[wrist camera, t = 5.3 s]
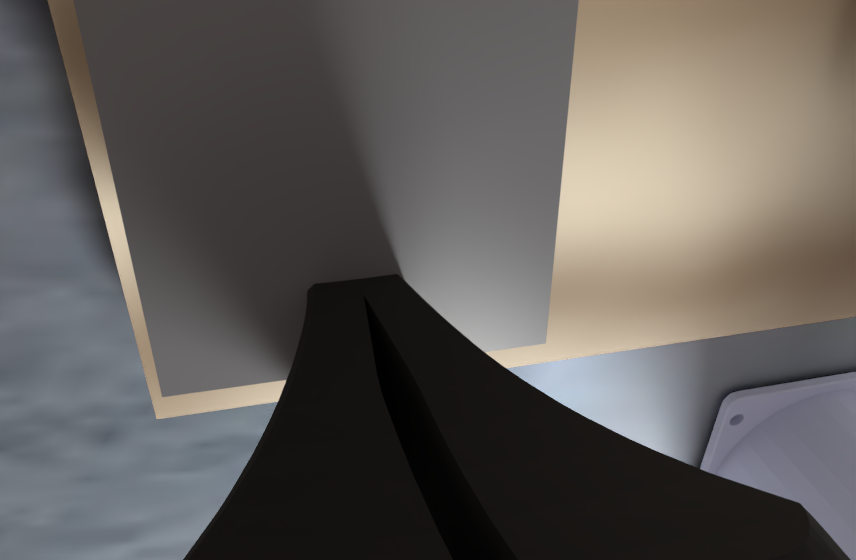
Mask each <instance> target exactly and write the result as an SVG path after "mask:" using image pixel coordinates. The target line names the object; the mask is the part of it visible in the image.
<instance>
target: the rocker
mask: <svg viewBox="0 0 856 560" xmlns="http://www.w3.org/2000/svg"><path fill="white" fill-rule="evenodd" d="M73 2H74V6H75V11H76V15H77V20H78V24H79V28H80V33H81V37H82V42H83V46H84V51H85V55H86V60H87V64H88V69H89V73H90V78H91V82H92V87H93V91H94V95H95V100H96V104H97V109H98V113H99V118H100V122H101V127H102V131H103V136H104V140H105V145H106V149H107V153H108V158H109V162H110V167H111V171H112V176H113V180H114V185H115V189H116V194H117V198H118V203H119V207H120V212H121V216H122V220H123V225H124V229H125V234H126V238H127V243H128V247H129V252H130V256H131V261H132V265H133V270H134V274H135V278H136V283H137V287H138V292H139V296H140V301H141V305H142V310H143V314H144V319H145V323H146V328H147V332H148V336H149V341H150V345H151V350H152V354H153V359H154V363H155V368H156V372H157V377H158V381H159V386H160V390H161V395H162V397H168V396H175V395H182V394H189V393H197V392H204V391H211V390H218V389H225V388H232V387H239V386H247V385H254V384H261V383H268V382H275V381H282V380H287V377H288V375H289V372H290V370H291V367H292V364H293V361H294V358H295V354H296V351H297V347H298V344H299V340H300V336H301V333H302V329H303V324H304V319H305V314H306V307H307V291H308V290H309V289H310V288H311V287H312V286H313V285H314V284H316V283H327V282H336V281H345V280H353V279H362V278H370V277H378V276H386V275H393V274H398V275H399V276H400V277H401V278H403V279H404V280H405V281H406V282H407V283H408V284H409V285H410V286H411V287H412V288H413V289H414V290H415V291H416V292H417V293H418V294H419V295H420V296H421V297H422V298H423V299H424V300H425V301H426V302H427V303H428V304H430V305H431V306H432V307H433V308H434V309H435V310H436V311H437V312H438V313H439V314H440V315H441V316H442V317H444V318H445V319H446V320H447V321H448V322H449V323H450V324H451V325H453V326H454V327H455V328H456V329H457V330H458V331H460V332H461V333H462V334H463V335H464V336H465V337H467V338H468V339H469V340H470V341H471V342H472V343H474V344H475V345H476V346H477V347H479V348H480V349H481V350H482V351H484V352H489V351H496V350H503V349H510V348H517V347H525V346H532V345H539V344H546V337H547V327H548V316H549V306H550V295H551V285H552V275H553V264H554V254H555V243H556V233H557V222H558V212H559V202H560V191H561V181H562V170H563V160H564V149H565V139H566V128H567V118H568V108H569V97H570V87H571V76H572V66H573V55H574V45H575V35H576V24H577V14H578V3H579V0H73Z"/></svg>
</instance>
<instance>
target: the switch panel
mask: <svg viewBox="0 0 856 560" xmlns="http://www.w3.org/2000/svg"><path fill="white" fill-rule="evenodd" d="M48 4H49V8H50V12H51V16H52V19H53V23H54V27H55V31H56V35H57V39H58V42H59V46H60V50H61V54H62V58H63V62H64V65H65V69H66V73H67V77H68V81H69V85H70V88H71V92H72V96H73V100H74V104H75V108H76V112H77V115H78V119H79V123H80V127H81V131H82V135H83V138H84V142H85V146H86V150H87V154H88V158H89V161H90V165H91V169H92V173H93V177H94V181H95V184H96V188H97V192H98V196H99V200H100V204H101V207H102V211H103V215H104V219H105V223H106V227H107V230H108V234H109V238H110V242H111V246H112V250H113V253H114V257H115V261H116V265H117V269H118V273H119V276H120V280H121V284H122V288H123V292H124V296H125V299H126V303H127V307H128V311H129V315H130V319H131V322H132V326H133V330H134V334H135V338H136V342H137V345H138V349H139V353H140V357H141V361H142V365H143V368H144V372H145V376H146V380H147V384H148V388H149V391H150V395H151V399H152V403H153V407H154V411H155V414H156V418H157V419H162V418H169V417H175V416H182V415H189V414H196V413H203V412H210V411H216V410H223V409H230V408H237V407H244V406H251V405H257V404H264V403H271V402H278V401H279V398H280V396H281V393H282V390H283V388H284V385H285V383H286V380H282V381H275V382H268V383H261V384H254V385H247V386H239V387H232V388H225V389H218V390H211V391H204V392H197V393H189V394H182V395H175V396H168V397H162V395H161V390H160V386H159V381H158V377H157V372H156V368H155V363H154V359H153V354H152V350H151V345H150V341H149V336H148V332H147V328H146V323H145V319H144V314H143V310H142V305H141V301H140V296H139V292H138V287H137V283H136V278H135V274H134V270H133V265H132V261H131V256H130V252H129V247H128V243H127V238H126V234H125V229H124V225H123V220H122V216H121V212H120V207H119V203H118V198H117V194H116V189H115V185H114V180H113V176H112V171H111V167H110V162H109V158H108V153H107V149H106V145H105V140H104V136H103V131H102V127H101V122H100V118H99V113H98V109H97V104H96V100H95V95H94V91H93V87H92V82H91V78H90V73H89V69H88V64H87V60H86V55H85V51H84V46H83V42H82V37H81V33H80V28H79V24H78V20H77V15H76V11H75V6H74V2H73V0H48ZM852 317H856V0H579V3H578V14H577V24H576V35H575V45H574V55H573V66H572V76H571V87H570V97H569V108H568V118H567V128H566V139H565V149H564V160H563V170H562V181H561V191H560V202H559V212H558V222H557V233H556V243H555V254H554V264H553V275H552V285H551V295H550V306H549V316H548V327H547V337H546V344H539V345H532V346H525V347H517V348H510V349H503V350H496V351H489V352H485V353H486V354H487V355H489V356H490V357H491V358H493V359H494V360H495V361H497V362H498V363H500V364H501V365H502V366H504V367H505V368H510V367H517V366H524V365H531V364H538V363H544V362H551V361H558V360H565V359H572V358H579V357H585V356H592V355H599V354H606V353H613V352H620V351H626V350H633V349H640V348H647V347H654V346H661V345H667V344H674V343H681V342H688V341H695V340H702V339H708V338H715V337H722V336H729V335H736V334H743V333H749V332H756V331H763V330H770V329H777V328H784V327H790V326H797V325H804V324H811V323H818V322H825V321H831V320H838V319H845V318H852Z"/></svg>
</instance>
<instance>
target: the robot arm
mask: <svg viewBox="0 0 856 560" xmlns="http://www.w3.org/2000/svg"><path fill="white" fill-rule="evenodd" d="M183 560H856V372H850V373H844V374H838V375H832V376H826V377H820V378H814V379H808V380H802V381H796V382H790V383H784V384H778V385H772V386H766V387H760V388H754V389H748V390H742V391H736V392H733V393H731V394H729V395H728V396H727V397H726V398H725V399H724V400H723V402H722V404H721V407H720V410H719V413H718V416H717V419H716V422H715V425H714V428H713V431H712V434H711V437H710V440H709V443H708V446H707V449H706V452H705V455H704V458H703V461H702V464H701V467H700V469H699V468H696V467H694V466H691V465H689V464H686V463H684V462H681V461H679V460H676V459H674V458H672V457H669V456H667V455H664V454H662V453H659V452H657V451H655V450H652V449H650V448H648V447H646V446H643V445H641V444H639V443H637V442H635V441H632V440H630V439H628V438H626V437H624V436H622V435H620V434H618V433H616V432H614V431H612V430H610V429H608V428H606V427H604V426H602V425H600V424H598V423H596V422H594V421H592V420H590V419H588V418H586V417H584V416H582V415H580V414H579V413H577V412H575V411H573V410H571V409H570V408H568V407H566V406H564V405H563V404H561V403H559V402H557V401H556V400H554V399H553V398H551V397H549V396H548V395H546V394H545V393H543V392H541V391H540V390H538V389H536V388H535V387H533V386H532V385H530V384H528V383H527V382H525V381H524V380H522V379H521V378H519V377H518V376H516V375H515V374H513V373H512V372H510V371H509V370H508V369H506V368H505V367H504V366H502V365H501V364H500V363H498V362H497V361H495V360H494V359H493V358H491V357H490V356H489V355H487V354H486V353H485V352H484V351H482V350H481V349H480V348H479V347H477V346H476V345H475V344H474V343H472V342H471V341H470V340H469V339H468V338H467V337H465V336H464V335H463V334H462V333H461V332H460V331H458V330H457V329H456V328H455V327H454V326H453V325H451V324H450V323H449V322H448V321H447V320H446V319H445V318H444V317H442V316H441V315H440V314H439V313H438V312H437V311H436V310H435V309H434V308H433V307H432V306H431V305H430V304H428V303H427V302H426V301H425V300H424V299H423V298H422V297H421V296H420V295H419V294H418V293H417V292H416V291H415V290H414V289H413V288H412V287H411V286H410V285H409V284H408V283H407V282H406V281H405V280H404V279H403V278H401V277H400V276H399V275H398V274H393V275H386V276H378V277H370V278H362V279H353V280H345V281H336V282H327V283H316V284H314V285H313V286H312V287H311V288H310V289H309V290H308V291H307V307H306V314H305V319H304V324H303V329H302V333H301V336H300V340H299V344H298V347H297V351H296V354H295V358H294V361H293V364H292V367H291V370H290V372H289V375H288V377H287V380H286V383H285V385H284V388H283V390H282V393H281V396H280V398H279V401H278V403H277V405H276V408H275V410H274V412H273V414H272V417H271V419H270V421H269V423H268V425H267V427H266V429H265V431H264V433H263V435H262V437H261V439H260V441H259V443H258V445H257V447H256V449H255V451H254V453H253V454H252V456H251V458H250V460H249V461H248V463H247V465H246V467H245V468H244V470H243V472H242V473H241V475H240V477H239V479H238V480H237V482H236V484H235V485H234V487H233V489H232V490H231V492H230V494H229V495H228V497H227V498H226V500H225V501H224V503H223V505H222V506H221V508H220V509H219V511H218V512H217V514H216V515H215V516H214V518H213V519H212V521H211V522H210V523H209V525H208V526H207V528H206V529H205V530H204V532H203V533H202V534H201V536H200V537H199V539H198V540H197V541H196V543H195V544H194V546H193V547H192V548H191V550H190V551H189V552H188V554H187V555H186V557H185V558H184V559H183Z"/></svg>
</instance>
